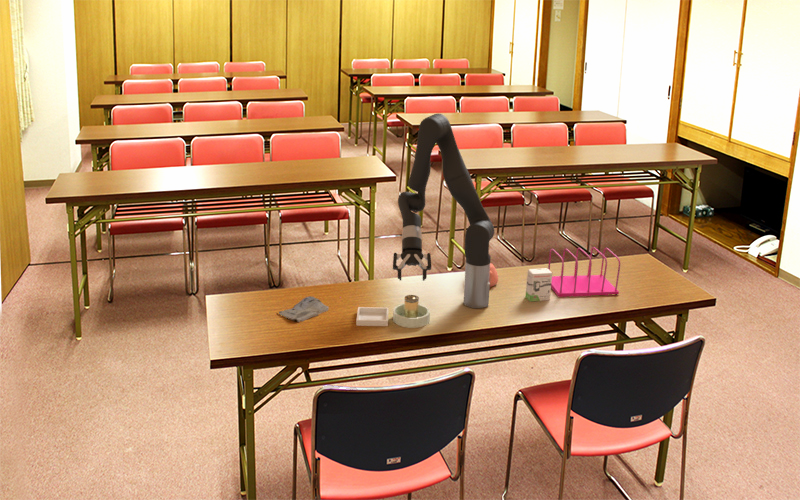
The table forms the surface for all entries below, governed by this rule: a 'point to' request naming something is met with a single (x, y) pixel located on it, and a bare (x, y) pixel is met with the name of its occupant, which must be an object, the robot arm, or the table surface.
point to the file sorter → (583, 279)
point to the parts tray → (372, 316)
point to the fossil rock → (305, 309)
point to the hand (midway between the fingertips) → (412, 279)
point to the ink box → (538, 284)
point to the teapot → (493, 275)
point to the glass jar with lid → (411, 306)
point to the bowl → (411, 322)
